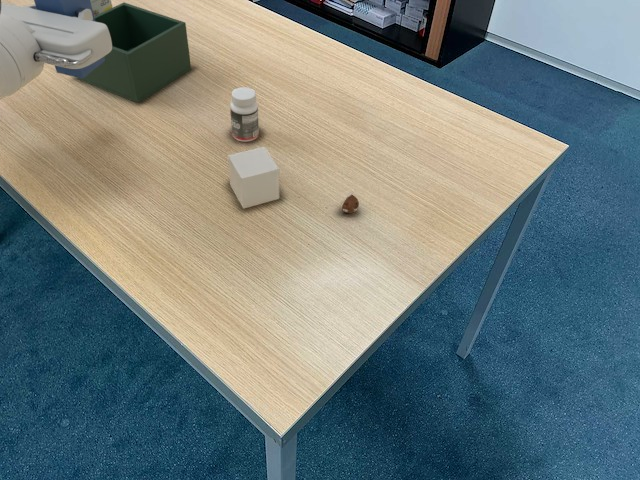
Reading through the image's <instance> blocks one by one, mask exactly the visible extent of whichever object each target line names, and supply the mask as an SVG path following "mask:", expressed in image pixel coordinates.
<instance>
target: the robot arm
mask: <svg viewBox="0 0 640 480" xmlns="http://www.w3.org/2000/svg"><path fill="white" fill-rule="evenodd" d="M75 14H76V17H70V16H66V15H61V14H56V13H51V12H46V11H41V10H37V8H36V5H35V3H34V4H27V5H23V6H21V5H17V4H12V3H8V2H3V1H2V0H0V100H2V99H3V98H6V97H10V96H13V95H14V94H16V93H17V92H19V91H20V90H21V89H22V88H24V87H25V86H26V85H28V84H29V83H31V82H33V80H35V79H36V78H38V77H39V76H40V75H41V74H42V73H43V70H44V67H45V64H47V65H51V66H54V67H55V66H60V67H64V68H69V69H80V68H84V67H86V66H88V65H90V64H92V63H94V62H96V61H97V60H99V59H101V58H102V57H104V56H105V55H107V54H108V53H110V52H111V50H112V41H111V37H110V33H109V30H108V28H107V26H106V25H105V24H103V23H99V22H94V21H92V20H93V16H92V12H91V10H90V9H86V8H79V9H78V10H76V11H75Z"/></svg>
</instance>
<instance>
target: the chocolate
mask: <svg viewBox="0 0 640 480" xmlns="http://www.w3.org/2000/svg"><path fill="white" fill-rule="evenodd" d="M355 191H356V189H353V190H351V191H350V192H347V193H346V198H345V199H344V201H343V202H342V203H341V206H340V210H341V212H343V213H346V214H353V213H355V212H356V211H358V210H359V206H360V201H359V199H358V197H356V196H355V195H353V194H354V193H355Z"/></svg>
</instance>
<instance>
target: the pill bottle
mask: <svg viewBox="0 0 640 480" xmlns="http://www.w3.org/2000/svg"><path fill="white" fill-rule="evenodd" d="M229 109H230V110H229V111H230V124H231V125H230V127H231V135H232V137H233V138H234V139H235V140H236V141H238V142H244V143H246V142H247V143H248V142H252V141H254V140H256V139H257V138H258V137H259V134H260V130H259V129H260V127H259V126H260V125H259V104H258V101H257V93H256V91H255V90H254V88H251V87H248V86H247V87H246V86H240V87H237V88H235V89H233V90H232V92H231V101H230V103H229Z"/></svg>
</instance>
